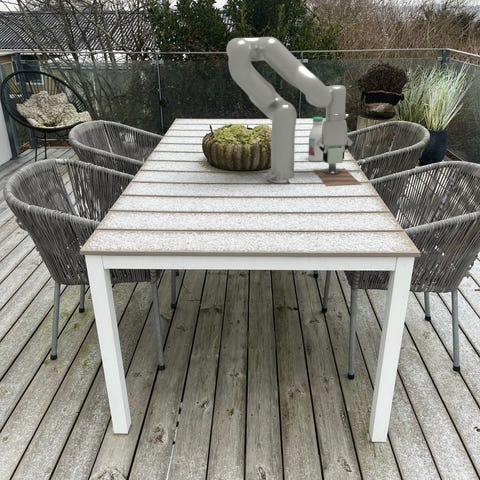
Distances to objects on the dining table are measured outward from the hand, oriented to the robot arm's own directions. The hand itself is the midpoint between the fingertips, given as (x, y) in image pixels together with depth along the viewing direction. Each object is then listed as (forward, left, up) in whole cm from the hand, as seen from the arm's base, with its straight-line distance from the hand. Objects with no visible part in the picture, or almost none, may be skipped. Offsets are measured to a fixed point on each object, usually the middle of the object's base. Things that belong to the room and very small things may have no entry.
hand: (333, 160), depth 196 cm
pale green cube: (0, 0, 0) cm, 0 cm away
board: (-4, -5, -6) cm, 9 cm away
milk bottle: (+15, +24, -7) cm, 29 cm away
